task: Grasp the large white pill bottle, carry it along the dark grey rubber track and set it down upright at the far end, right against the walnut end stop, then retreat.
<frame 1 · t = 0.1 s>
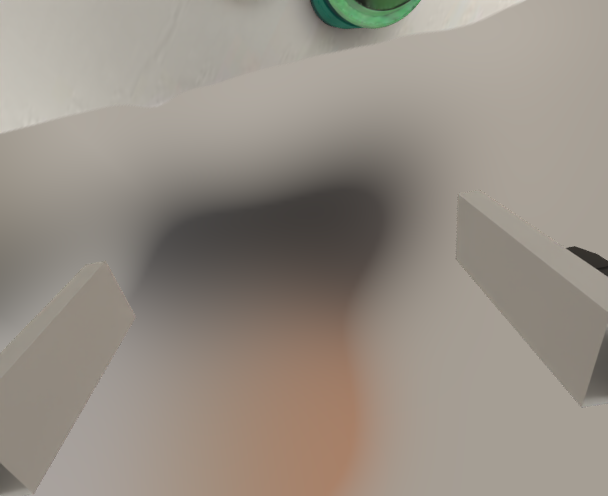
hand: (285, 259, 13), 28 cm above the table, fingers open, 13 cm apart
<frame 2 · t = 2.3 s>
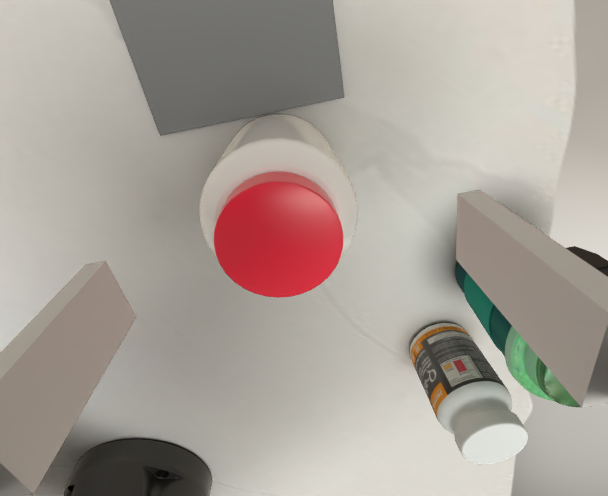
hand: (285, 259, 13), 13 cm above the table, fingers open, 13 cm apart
pill bottle: (436, 342, 33), on the table
pill bottle 2: (280, 171, 25), on the table
cup: (484, 253, 29), on the table
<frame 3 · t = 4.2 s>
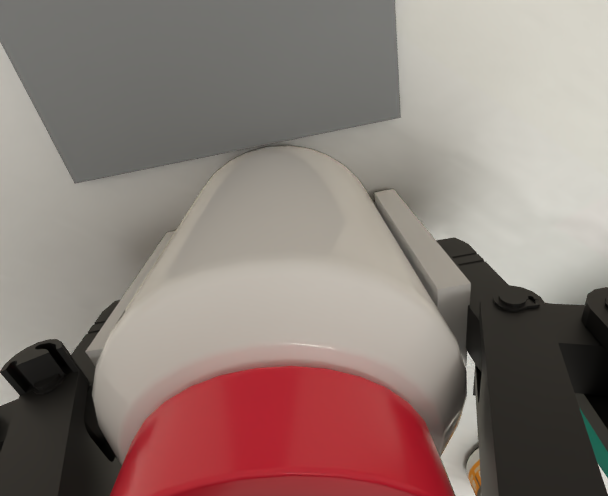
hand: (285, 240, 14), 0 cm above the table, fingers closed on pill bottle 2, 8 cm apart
pill bottle: (504, 452, 23), on the table
pill bottle 2: (285, 236, 15), on the table, touching gripper
cup: (593, 345, 19), on the table
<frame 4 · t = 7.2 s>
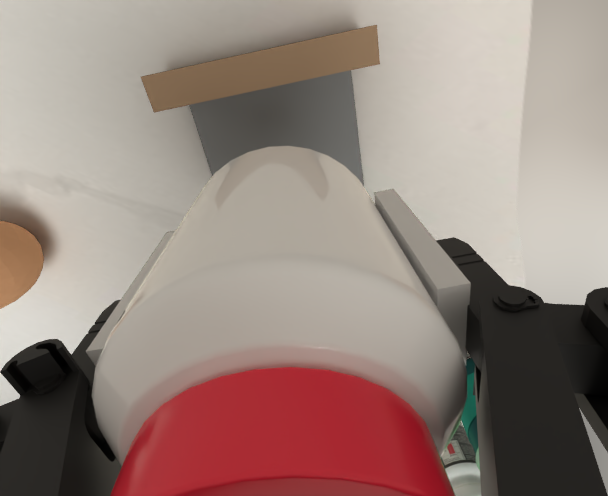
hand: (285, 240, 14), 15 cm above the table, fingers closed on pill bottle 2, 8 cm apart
pill bottle: (435, 420, 46), on the table
egg: (24, 239, 31), on the table
pill bottle 2: (285, 236, 15), point 15 cm above the table, touching gripper
cup: (469, 367, 41), on the table
track: (295, 208, 30), on the table
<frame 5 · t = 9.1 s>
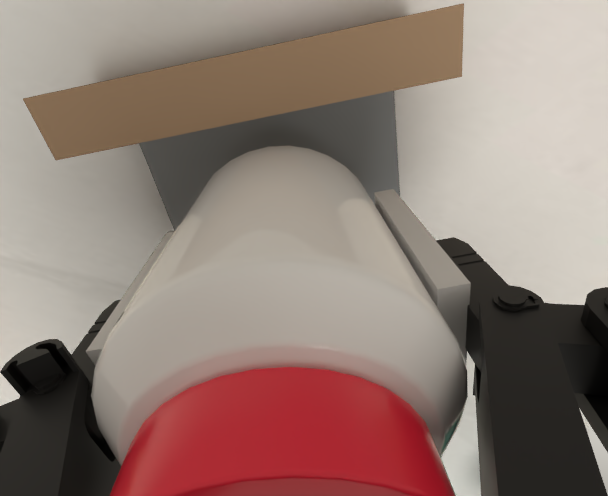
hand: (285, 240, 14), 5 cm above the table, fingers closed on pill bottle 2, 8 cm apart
pill bottle 2: (285, 236, 15), point 4 cm above the table, touching gripper
track: (302, 279, 21), on the table
when the fingers open (2 cm above the table, at t = 10.5 s): pill bottle 2 drops 1 cm, resting on track.
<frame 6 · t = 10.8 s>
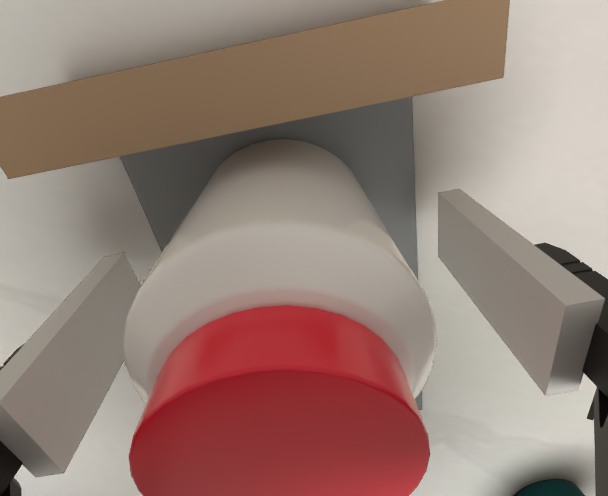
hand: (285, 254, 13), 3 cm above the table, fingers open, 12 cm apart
pill bottle 2: (284, 222, 16), resting on track
cup: (540, 488, 30), on the table
track: (304, 302, 19), on the table
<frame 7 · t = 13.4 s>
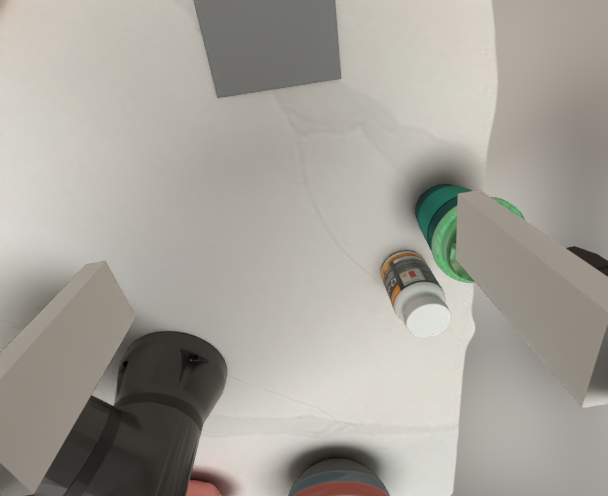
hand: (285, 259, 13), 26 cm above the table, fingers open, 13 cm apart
pill bottle: (402, 267, 45), on the table
planter: (334, 467, 68), on the table
cup: (437, 198, 40), on the table
cell model: (192, 487, 70), on the table
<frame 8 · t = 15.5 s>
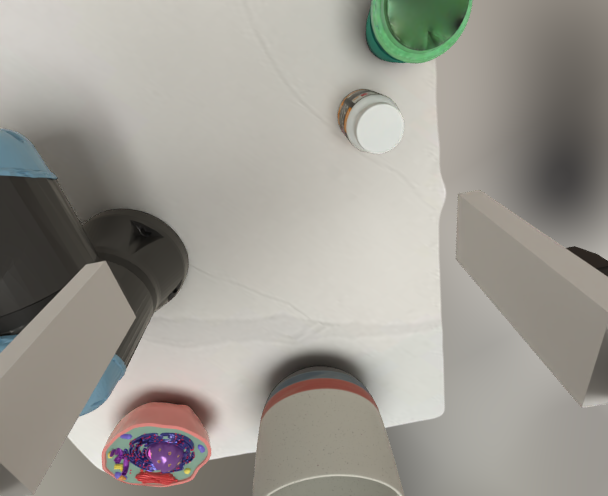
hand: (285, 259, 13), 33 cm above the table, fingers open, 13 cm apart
pill bottle: (360, 114, 42), on the table
planter: (316, 383, 64), on the table
cup: (388, 19, 38), on the table
cell model: (169, 414, 67), on the table
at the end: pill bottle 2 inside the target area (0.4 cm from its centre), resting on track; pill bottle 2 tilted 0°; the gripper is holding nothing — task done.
